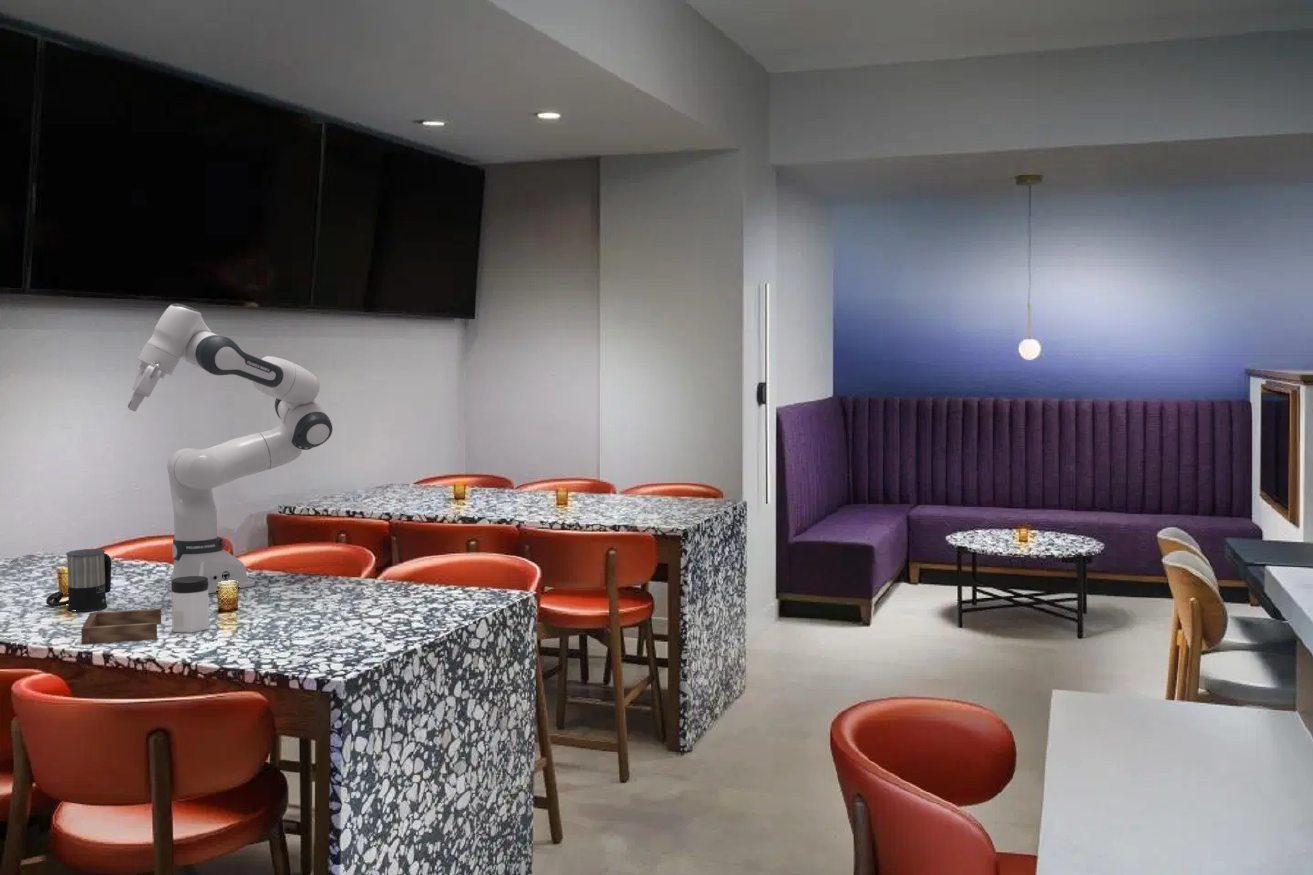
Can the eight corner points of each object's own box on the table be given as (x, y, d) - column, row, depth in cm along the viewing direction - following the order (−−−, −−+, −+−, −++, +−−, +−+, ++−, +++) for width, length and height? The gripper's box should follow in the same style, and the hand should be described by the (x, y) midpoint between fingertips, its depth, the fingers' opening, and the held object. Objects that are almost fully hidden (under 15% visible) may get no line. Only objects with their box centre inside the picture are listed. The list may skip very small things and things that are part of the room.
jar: (210, 631, 270) (209, 581, 269) (173, 634, 267) (172, 583, 266) (207, 623, 278) (206, 574, 278) (171, 626, 275) (170, 576, 274)
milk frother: (101, 612, 290) (100, 554, 289) (33, 614, 286) (32, 555, 285) (116, 600, 303) (114, 545, 302) (51, 602, 300) (50, 546, 299)
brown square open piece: (161, 622, 278) (160, 608, 278) (156, 638, 262) (156, 623, 262) (90, 627, 273) (90, 612, 273) (81, 644, 257) (81, 628, 257)
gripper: (172, 367, 284) (144, 417, 282) (167, 366, 302) (141, 413, 300) (147, 355, 281) (119, 405, 279) (143, 355, 299) (117, 402, 297)
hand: (131, 409), depth 290 cm, fingers open, 8 cm apart
